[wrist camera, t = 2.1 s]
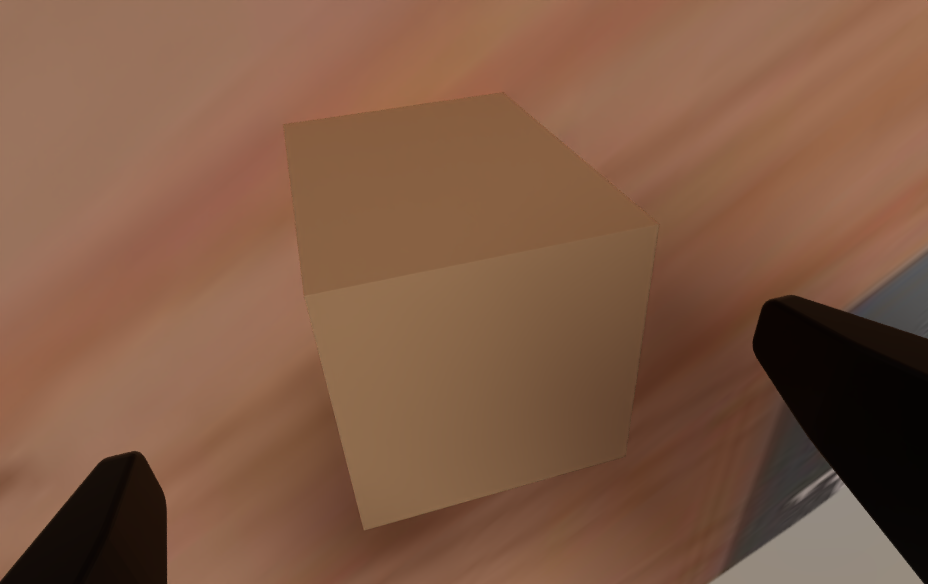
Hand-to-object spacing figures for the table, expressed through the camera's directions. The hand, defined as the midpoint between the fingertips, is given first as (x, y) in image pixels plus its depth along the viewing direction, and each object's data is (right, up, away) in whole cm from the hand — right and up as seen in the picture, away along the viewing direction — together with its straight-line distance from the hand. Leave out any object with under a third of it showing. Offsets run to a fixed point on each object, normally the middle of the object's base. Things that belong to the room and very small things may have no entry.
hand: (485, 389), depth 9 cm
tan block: (-2, +3, +5) cm, 6 cm away
